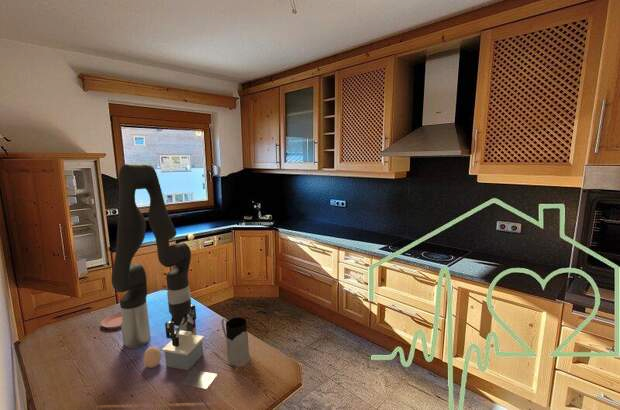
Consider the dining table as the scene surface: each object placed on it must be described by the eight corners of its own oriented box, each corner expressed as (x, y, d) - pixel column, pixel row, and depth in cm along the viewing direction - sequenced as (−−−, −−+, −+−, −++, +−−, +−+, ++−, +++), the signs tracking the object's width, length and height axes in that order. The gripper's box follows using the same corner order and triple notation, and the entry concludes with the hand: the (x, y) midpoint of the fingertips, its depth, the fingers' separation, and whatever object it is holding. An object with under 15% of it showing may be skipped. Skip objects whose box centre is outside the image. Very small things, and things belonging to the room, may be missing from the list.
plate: (128, 311, 153) (128, 307, 152) (142, 320, 144) (142, 316, 144) (96, 324, 141) (95, 320, 141) (109, 334, 133) (108, 330, 133)
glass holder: (235, 370, 109) (232, 332, 107) (214, 353, 119) (211, 318, 116) (255, 358, 116) (253, 321, 113) (233, 343, 125) (231, 309, 122)
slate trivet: (180, 385, 103) (180, 383, 103) (192, 371, 109) (192, 369, 109) (206, 390, 100) (206, 389, 100) (217, 375, 107) (217, 374, 107)
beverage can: (192, 346, 123) (188, 312, 121) (179, 345, 124) (176, 311, 122) (199, 338, 129) (196, 305, 126) (187, 337, 130) (184, 304, 127)
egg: (145, 363, 114) (143, 345, 113) (162, 359, 116) (160, 341, 115) (143, 373, 109) (141, 354, 107) (161, 368, 111) (159, 349, 110)
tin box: (166, 367, 111) (164, 350, 110) (182, 351, 120) (181, 335, 119) (188, 371, 109) (186, 354, 108) (203, 355, 118) (202, 338, 117)
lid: (162, 351, 110) (160, 339, 109) (180, 334, 120) (179, 323, 119) (187, 355, 107) (186, 342, 106) (204, 338, 117) (203, 326, 116)
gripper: (183, 288, 118) (186, 327, 121) (156, 306, 104) (161, 350, 107) (200, 290, 116) (203, 330, 119) (175, 309, 103) (179, 353, 105)
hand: (183, 339), depth 113 cm, fingers open, 7 cm apart
